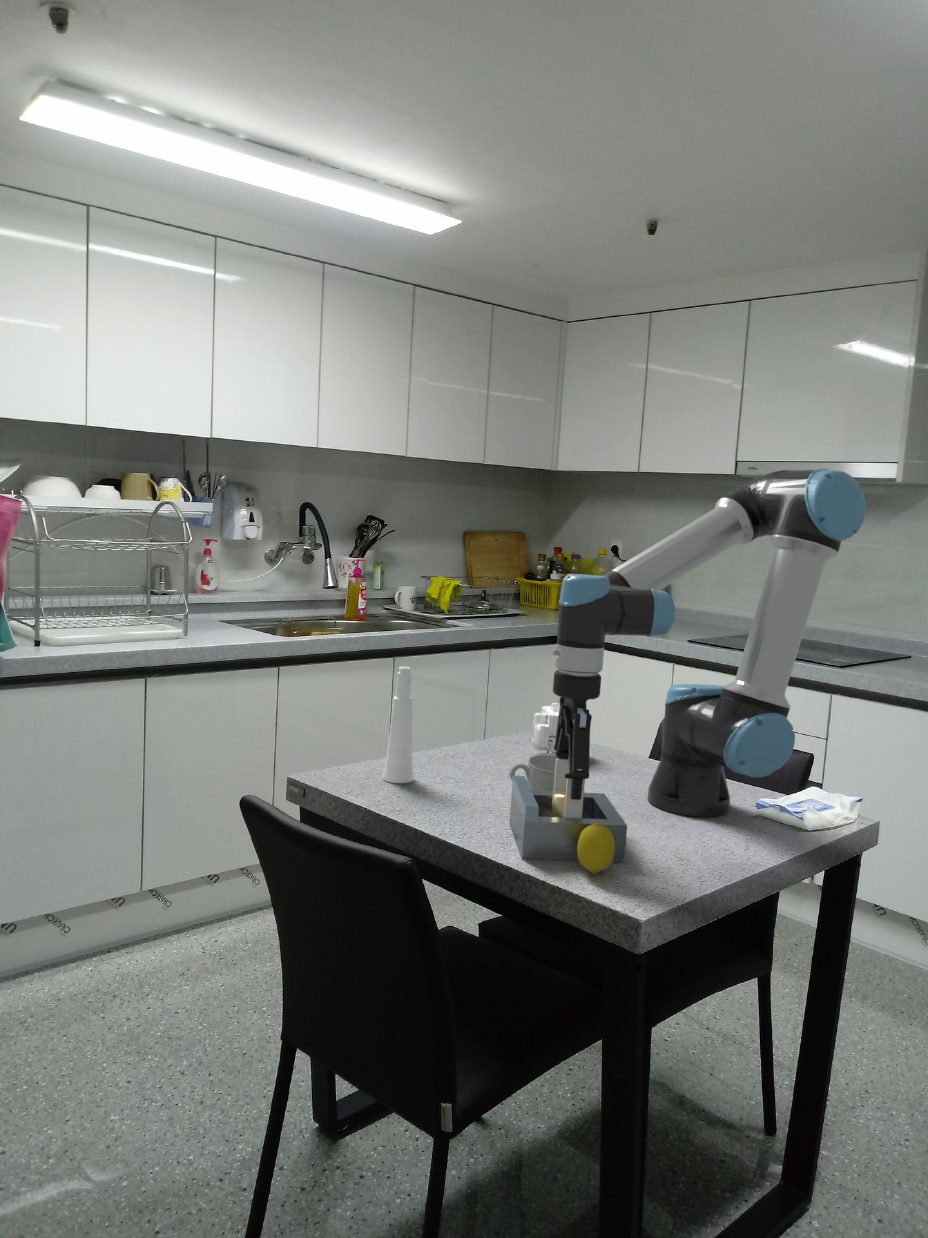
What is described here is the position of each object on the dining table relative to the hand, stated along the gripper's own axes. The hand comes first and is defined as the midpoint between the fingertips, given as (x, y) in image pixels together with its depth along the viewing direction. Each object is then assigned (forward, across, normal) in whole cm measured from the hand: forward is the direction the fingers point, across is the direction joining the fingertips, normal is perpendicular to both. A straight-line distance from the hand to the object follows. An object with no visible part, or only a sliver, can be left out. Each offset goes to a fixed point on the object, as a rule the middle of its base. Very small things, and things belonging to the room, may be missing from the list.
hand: (566, 807), depth 151 cm
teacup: (+6, -20, 0) cm, 21 cm away
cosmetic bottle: (+6, -31, -27) cm, 42 cm away
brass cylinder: (+6, 0, 0) cm, 6 cm away
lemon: (+6, +13, +2) cm, 15 cm away
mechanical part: (+6, -53, +8) cm, 54 cm away
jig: (+6, 0, 0) cm, 6 cm away
